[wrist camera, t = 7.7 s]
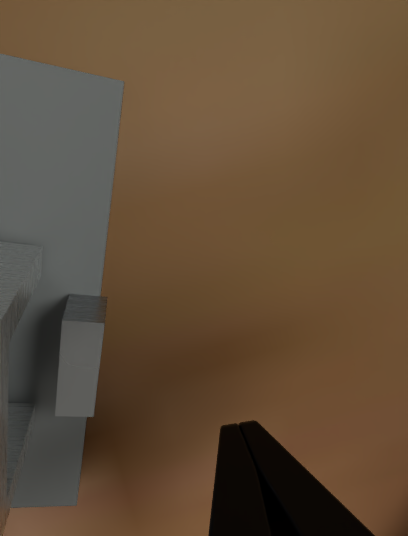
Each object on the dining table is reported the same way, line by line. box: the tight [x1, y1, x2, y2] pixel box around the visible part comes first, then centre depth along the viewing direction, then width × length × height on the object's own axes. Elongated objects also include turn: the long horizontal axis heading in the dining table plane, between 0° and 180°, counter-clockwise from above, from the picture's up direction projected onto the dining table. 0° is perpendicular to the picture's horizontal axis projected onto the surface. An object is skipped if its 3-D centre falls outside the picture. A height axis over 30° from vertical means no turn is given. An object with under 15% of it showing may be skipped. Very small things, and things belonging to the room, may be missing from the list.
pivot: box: [55, 294, 107, 417], centre depth 10 cm, size 5×3×2 cm, turn 78°
